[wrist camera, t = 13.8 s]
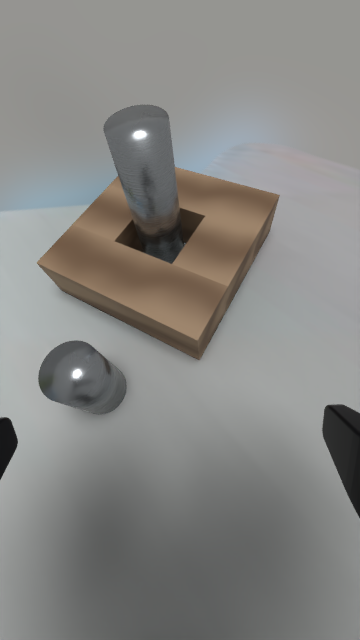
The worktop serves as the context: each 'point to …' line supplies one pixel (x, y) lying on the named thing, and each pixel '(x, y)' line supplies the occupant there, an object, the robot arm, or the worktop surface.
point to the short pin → (81, 378)
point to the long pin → (148, 177)
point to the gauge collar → (157, 275)
